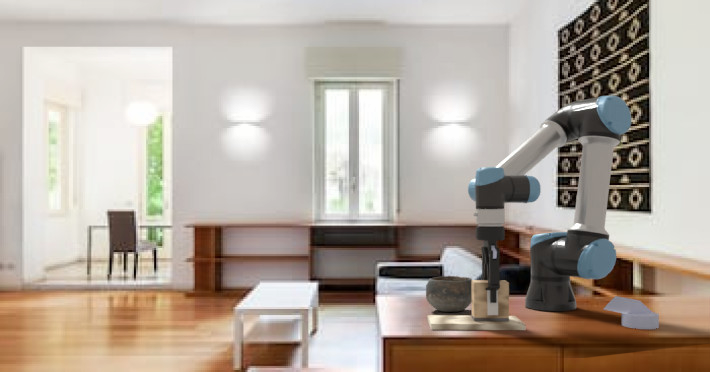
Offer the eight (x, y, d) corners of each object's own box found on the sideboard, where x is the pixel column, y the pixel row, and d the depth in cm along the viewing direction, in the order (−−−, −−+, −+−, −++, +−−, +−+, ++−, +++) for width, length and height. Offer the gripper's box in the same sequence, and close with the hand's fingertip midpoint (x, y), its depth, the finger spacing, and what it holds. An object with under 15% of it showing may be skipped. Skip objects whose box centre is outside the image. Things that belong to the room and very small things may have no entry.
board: (515, 321, 172) (515, 315, 172) (525, 330, 160) (525, 324, 160) (427, 320, 173) (427, 315, 173) (431, 329, 161) (431, 323, 161)
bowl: (484, 311, 188) (484, 277, 188) (453, 317, 177) (453, 282, 178) (446, 305, 198) (446, 273, 198) (415, 311, 187) (415, 278, 187)
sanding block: (505, 317, 169) (505, 280, 169) (508, 321, 164) (508, 282, 164) (471, 317, 169) (471, 280, 169) (474, 320, 164) (474, 282, 164)
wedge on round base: (603, 321, 172) (640, 330, 160) (602, 296, 173) (640, 304, 161) (628, 319, 176) (666, 327, 164) (627, 295, 176) (666, 302, 164)
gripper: (470, 224, 176) (471, 307, 176) (481, 226, 158) (482, 319, 158) (497, 223, 176) (498, 307, 175) (511, 226, 158) (512, 319, 157)
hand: (490, 312), depth 167 cm, fingers closed on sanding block, 5 cm apart
